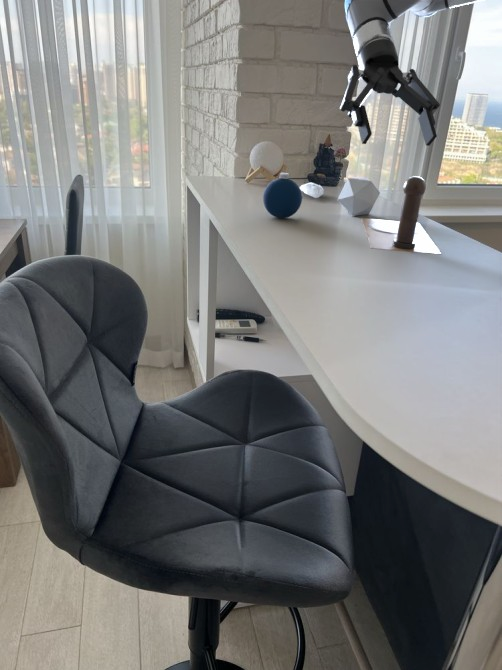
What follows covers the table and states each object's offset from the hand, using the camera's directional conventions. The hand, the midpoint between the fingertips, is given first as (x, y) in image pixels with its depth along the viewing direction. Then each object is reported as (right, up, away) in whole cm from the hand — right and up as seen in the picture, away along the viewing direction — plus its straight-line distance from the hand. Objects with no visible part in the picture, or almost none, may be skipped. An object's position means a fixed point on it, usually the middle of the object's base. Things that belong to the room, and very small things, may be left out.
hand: (399, 140), depth 95 cm
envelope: (+1, -17, +6) cm, 18 cm away
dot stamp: (0, -20, -2) cm, 21 cm away
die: (-4, -9, +23) cm, 25 cm away
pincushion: (-12, 0, +40) cm, 42 cm away
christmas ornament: (-22, -11, +15) cm, 29 cm away
